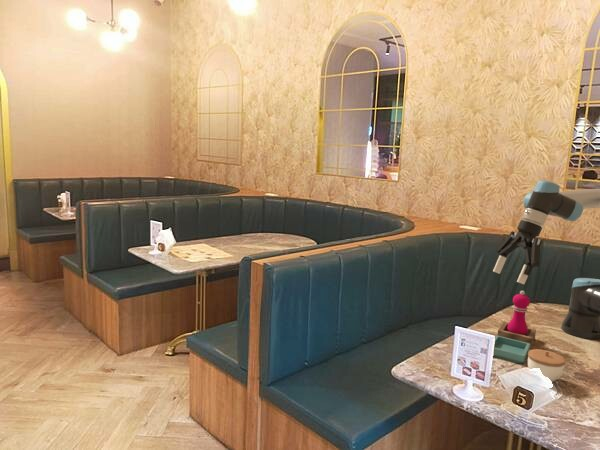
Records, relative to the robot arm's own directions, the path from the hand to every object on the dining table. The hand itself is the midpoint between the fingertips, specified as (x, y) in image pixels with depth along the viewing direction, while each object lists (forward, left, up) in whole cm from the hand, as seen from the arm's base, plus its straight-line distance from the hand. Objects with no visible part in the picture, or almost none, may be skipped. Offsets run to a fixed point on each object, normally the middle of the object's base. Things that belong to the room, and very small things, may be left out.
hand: (507, 277), depth 169 cm
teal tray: (-3, 0, -28) cm, 28 cm away
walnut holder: (-3, -16, -28) cm, 32 cm away
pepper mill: (-3, -16, -28) cm, 33 cm away
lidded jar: (-16, +14, -28) cm, 35 cm away
